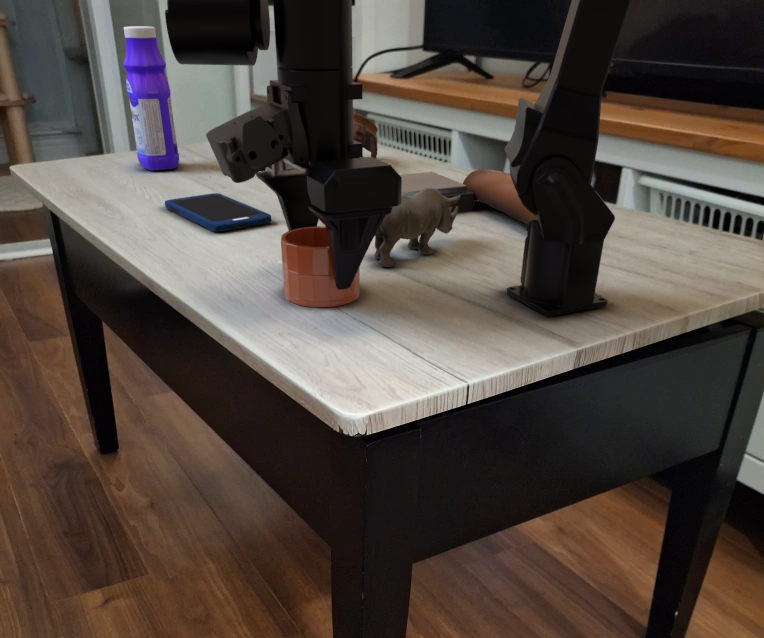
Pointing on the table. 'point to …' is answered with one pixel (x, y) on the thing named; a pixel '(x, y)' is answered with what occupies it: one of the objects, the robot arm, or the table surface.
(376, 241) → the rhino figurine
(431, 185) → the scale
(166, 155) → the bottle
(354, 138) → the brown irregular curved piece
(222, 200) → the cell phone
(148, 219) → the table surface
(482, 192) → the sunglasses case
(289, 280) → the cup
